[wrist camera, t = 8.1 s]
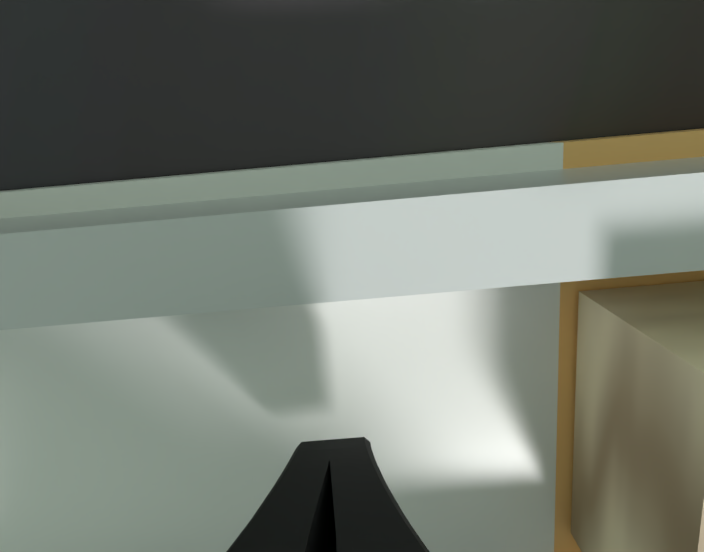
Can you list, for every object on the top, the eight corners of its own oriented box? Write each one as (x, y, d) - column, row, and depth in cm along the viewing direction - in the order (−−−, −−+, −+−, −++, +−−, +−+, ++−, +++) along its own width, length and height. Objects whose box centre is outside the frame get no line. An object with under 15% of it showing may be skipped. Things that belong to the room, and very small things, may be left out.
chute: (990, 566, 13) (1191, 698, 10) (-44, 645, 14) (-162, 797, 11) (1135, 90, 10) (1490, 68, 7) (-210, 209, 11) (-447, 239, 7)
